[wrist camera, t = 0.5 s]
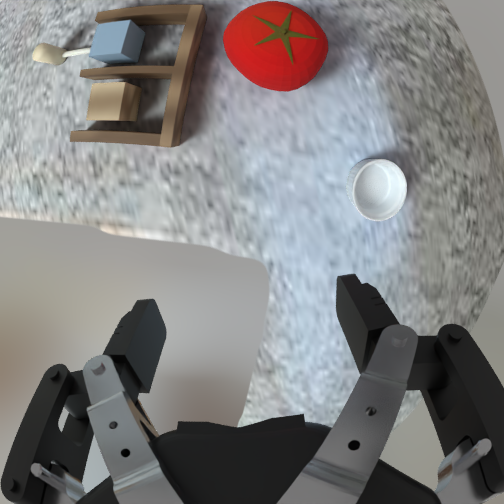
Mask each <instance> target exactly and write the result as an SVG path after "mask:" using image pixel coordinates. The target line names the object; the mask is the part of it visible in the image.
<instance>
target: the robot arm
mask: <svg viewBox="0 0 504 504" xmlns="http://www.w3.org/2000/svg"><path fill="white" fill-rule="evenodd" d="M336 312H337V317H338V320H339V322H340V325H341V327H342V330H343V332H344V335H345V337H346V340H347V342H348V345H349V347H350V350H351V352H352V355H353V357H354V360H355V362H356V365H357V368H358V370H359V373H360V374H361V375H360V377H359V379H358V381H357V383H356V385H355V387H354V389H353V391H352V393H351V395H350V397H349V399H348V401H347V403H346V404H345V406H344V408H343V410H342V412H341V414H340V415H339V417H338V419H337V421H336V422H335V424H334V426H333V427H332V428H331V427H328V426H326V425H322V424H318V423H312V422H305V419H304V414H300V415H293V416H286V417H277V418H271V419H268V420H264V421H261V422H258V423H254V424H251V425H248V426H244V427H238V428H237V427H230V426H225V425H220V424H215V423H210V422H182V421H179V422H178V426H177V430H173V431H170V432H167V433H164V434H162V435H159V434H158V432H157V431H156V429H155V428H154V426H153V424H152V422H151V421H150V419H149V417H148V415H147V413H146V412H145V410H144V408H143V406H142V404H141V402H140V401H139V399H138V395H139V393H149V392H150V389H151V385H152V381H153V378H154V375H155V372H156V368H157V365H158V362H159V359H160V355H161V352H162V349H163V345H164V342H165V340H166V327H165V324H164V321H163V319H162V316H161V314H160V312H159V309H158V306H157V304H156V302H155V300H154V299H144V300H137V302H136V303H135V305H134V307H133V309H132V310H131V311H129V312H128V313H127V314H126V315H125V316H124V317H123V318H121V320H120V322H119V324H118V326H117V328H116V329H115V331H114V334H113V335H112V337H111V339H110V341H109V343H108V345H107V347H106V349H105V351H104V353H103V355H99V356H96V357H93V358H91V359H90V360H89V361H88V362H87V363H86V364H85V366H84V368H83V370H80V371H75V372H70V371H69V370H68V369H67V367H66V366H65V365H63V364H57V365H54V366H52V367H50V368H49V369H48V370H47V371H46V372H45V374H44V376H43V378H42V380H41V382H40V384H39V386H38V388H37V390H36V392H35V394H34V396H33V398H32V400H31V402H30V404H29V406H28V409H27V411H26V413H25V416H24V418H23V420H22V422H21V425H20V427H19V430H18V432H17V435H16V437H15V440H14V442H13V445H12V448H11V451H10V453H9V456H8V459H7V462H6V465H5V468H4V472H3V475H2V478H1V490H2V493H3V494H4V496H5V497H6V498H7V499H8V500H9V501H11V502H13V503H14V504H482V503H484V502H486V501H488V500H490V499H492V498H494V497H496V496H497V495H499V494H501V493H503V492H504V388H503V386H502V384H501V382H500V381H499V379H498V377H497V375H496V374H495V372H494V370H493V369H492V367H491V366H490V364H489V362H488V361H487V359H486V358H485V356H484V355H483V353H482V352H481V350H480V348H479V347H478V346H477V344H476V343H475V341H474V340H473V338H472V337H471V335H470V334H469V332H468V331H467V330H466V329H465V328H463V327H462V326H459V325H456V324H447V325H444V326H443V327H441V328H440V330H439V332H438V335H437V336H418V335H417V334H416V332H415V331H414V330H413V329H412V328H410V327H408V326H405V325H400V324H399V322H398V320H397V319H396V317H395V316H394V314H393V313H392V311H391V310H390V308H389V307H388V305H387V304H386V303H385V301H384V299H383V298H382V297H381V295H380V293H379V292H378V290H377V289H376V288H375V287H373V286H371V285H370V284H368V283H364V284H361V282H360V280H359V279H358V277H357V276H356V274H348V275H342V276H338V277H337V290H336ZM406 390H420V391H421V393H422V396H423V398H424V401H425V403H426V405H427V408H428V411H429V413H430V416H431V418H432V421H433V424H434V426H435V429H436V432H437V435H438V438H439V440H440V443H441V447H442V450H443V452H444V455H445V458H444V459H443V461H442V462H441V464H440V466H439V468H438V485H437V488H436V490H435V492H434V491H433V490H432V489H430V488H428V487H427V486H425V485H423V484H421V483H419V482H418V481H416V480H414V479H412V478H411V477H409V476H407V475H405V474H404V473H402V472H400V471H399V470H397V469H395V468H394V467H392V466H390V465H389V464H387V463H385V462H384V461H382V460H381V459H379V457H380V455H381V453H382V451H383V449H384V446H385V444H386V442H387V440H388V437H389V435H390V432H391V430H392V427H393V425H394V422H395V420H396V417H397V414H398V412H399V409H400V406H401V403H402V400H403V398H404V394H405V391H406ZM63 407H65V409H67V411H68V412H69V414H68V417H67V419H66V422H65V425H64V428H63V431H62V432H61V431H60V429H59V427H58V421H59V418H60V415H61V413H62V410H63ZM94 434H95V437H96V440H97V443H98V446H99V448H100V451H101V454H102V456H103V459H104V461H105V463H106V466H107V468H108V471H109V473H110V476H109V477H108V478H106V479H105V480H104V481H103V482H101V483H100V484H99V485H98V486H96V487H95V488H94V489H92V490H91V491H90V492H88V493H85V492H84V487H83V485H82V479H83V475H84V471H85V466H86V462H87V458H88V454H89V450H90V446H91V443H92V439H93V435H94Z"/></svg>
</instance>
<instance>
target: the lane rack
mask: <svg viewBox="0 0 504 504" xmlns="http://www.w3.org/2000/svg"><path fill="white" fill-rule="evenodd" d="M125 20H131V21H132V22H133V23H135V24H136V25H137V26H142V25H185V26H184V30H183V33H182V37H181V41H180V44H179V48H178V52H177V56H176V60H175V64H174V66H118V67H104V68H93V69H84V70H81V72H80V77H84V78H88V79H92V80H104V79H128V78H152V79H171V82H170V87H169V92H168V97H167V102H166V107H165V113H164V119H163V125H162V131H161V133H152V132H138V131H118V130H78V131H71V135H70V142H106V143H124V144H139V145H151V146H161V147H175V146H179V143H180V137H181V131H182V125H183V119H184V114H185V108H186V103H187V98H188V93H189V88H190V83H191V79H192V74H193V70H194V66H195V61H196V57H197V53H198V49H199V45H200V41H201V38H202V34H203V30H204V27H205V23H206V20H207V15H206V13H205V10H204V7H203V5H152V6H140V7H130V8H122V9H115V10H109V11H103V12H98V13H97V16H96V19H95V21H96V22H98V23H99V24H103V23H109V22H117V21H125Z"/></svg>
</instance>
